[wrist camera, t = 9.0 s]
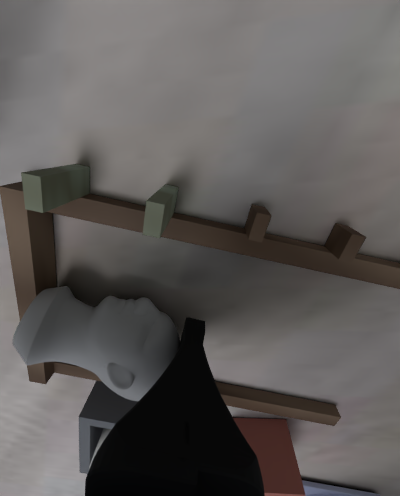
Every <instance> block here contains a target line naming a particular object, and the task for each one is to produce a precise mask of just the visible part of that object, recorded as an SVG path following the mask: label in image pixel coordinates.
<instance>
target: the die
mask: <svg viewBox="0 0 400 496" xmlns="http://www.w3.org/2000/svg"><path fill="white" fill-rule="evenodd" d="M233 419H234V421H235V423H236V424H237V426H238V428H239V429H240V431H241V433H242V434H243V436H244V437H245V439H246V441H247V442H248V444H249V445H250V447H251V448H252V450H253V451H254V453H255V454H256V456H257V459H258V462H259V466H260V470H261V475H262V479H263V484H264V494H265V496H305V491H304V487H303V483H302V479H301V475H300V472H299V468H298V464H297V460H296V456H295V452H294V448H293V445H292V441H291V437H290V433H289V429H288V425H287V422H286V419H260V418H233Z"/></svg>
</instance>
